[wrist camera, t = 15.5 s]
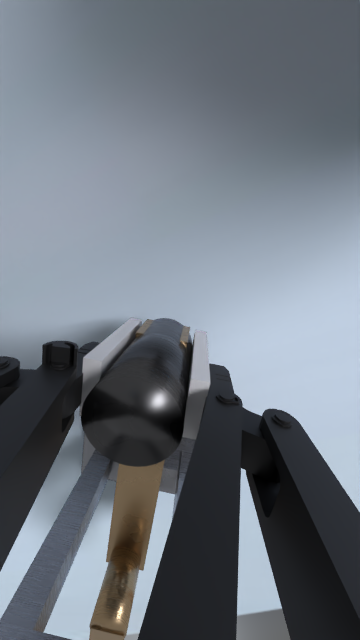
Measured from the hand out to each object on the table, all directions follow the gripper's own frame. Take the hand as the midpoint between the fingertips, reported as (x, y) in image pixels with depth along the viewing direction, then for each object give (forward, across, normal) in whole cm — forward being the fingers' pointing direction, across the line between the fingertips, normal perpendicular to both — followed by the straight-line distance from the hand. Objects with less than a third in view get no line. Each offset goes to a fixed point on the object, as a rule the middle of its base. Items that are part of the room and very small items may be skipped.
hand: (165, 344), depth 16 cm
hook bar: (0, 0, -9) cm, 9 cm away
